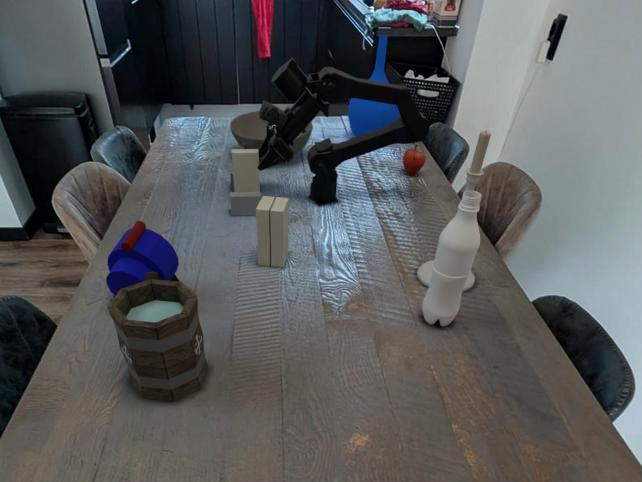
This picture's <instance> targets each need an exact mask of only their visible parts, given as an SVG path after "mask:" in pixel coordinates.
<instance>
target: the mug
mask: <svg viewBox="0 0 642 482" xmlns="http://www.w3.org/2000/svg"><path fill="white" fill-rule="evenodd" d="M198 302H199V298H198V295H197V294H195V293H194V291H193V290H191V288H189V287H188V286H187V285H186V284H184V282H183V281H180V282H178V281H167V280H159V276H158V273H157V272H148V273H146V275H145V281H143V282H140V283H137V284H134V285H131V286H128V287H125V288H122V289H120V290H119V292H118V293H117V295H116V296H115V297H114V296H113V299H112V300H111V301H110V303H109V304H108V306H107V311H108V313H109V315H110V317H111V319H112V321H113V324H114V328H115V330H116V334H117V339H118V344H119V348H120V351H121V353H122V355H123V358H124V360H125V363H126V366H127V369H128V373H129V380H130V383H131V384H132V385H133V387H134V388H135V389H136V391H137V392H138V393H139V394H140V396H141V397H142V398H143V399H147V400H156V401H166V402H176V401H178V400H180V399H183V398H184V397H187V396H189V395H191V394H194V393H195V392H197V391H199V390H201V389H202V387H203V385H204V383H205V379H206V377H207V375H208V372H209V370H210V369H209V366H208V363H207V359H206V354H205V353H206V352H205V345H204V343H205V342H204V333H203V330H202V325H201V321H200V316H199V303H198Z"/></svg>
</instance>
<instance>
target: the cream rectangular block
mask: <svg viewBox="0 0 642 482" xmlns="http://www.w3.org/2000/svg"><path fill="white" fill-rule="evenodd" d="M259 164H260V158H259V152H258V149H243V148H231V166H233V180H234V192H260V193H261V184H260V183H261V182H260V170H259V169H258V168H257V167H258V165H259Z"/></svg>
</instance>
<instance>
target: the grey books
mask: <svg viewBox="0 0 642 482" xmlns="http://www.w3.org/2000/svg"><path fill="white" fill-rule="evenodd" d="M229 168H230V169H229V170H230V173H229V176H230V189H231V191H229V199H230V200H229V203H230V212H231V213H230V214H231V216H232V217H233V216H256V208H257V206H258V204H259V202H260V200H261V198H262V194H261V191H260V192H234V180H233V166H232V165H230V167H229Z"/></svg>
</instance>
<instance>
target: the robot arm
mask: <svg viewBox="0 0 642 482" xmlns="http://www.w3.org/2000/svg"><path fill="white" fill-rule="evenodd" d="M271 83H272V85H274V87H275V88H276V89H277V90H278V91H279V92H280V94H282V96H283V97H284V98H285V100H287V102H289V101H292V102H294V103H293V104H292V106H291V107H289V106H287V107H286V108H285V109H284V110H283V109H281V108H280V107H278V106H276V105H274V104H273V103H271V102H268V101H267V100H265V99H264V100H262V103H261V106H260V108H259V110H258V111H259V118H260V119H262V120H264V121H265V120H266V121H267V123H268V125H269V126H268V125H266V133H267V134H266V137H265V139H264V141H263V143H262V145H261V147H260V148H259V150H258V152H259V159H260V157H262V156H264V155H265V156H264V158H263V159H261V161H259V165H258V167H257V168H258V169H259V172H261V171H264V170H267V169H270V168H272V167H276V166H277V165H280V164H286V163H290V162H291V160H292V159H293V158H294V157H295V155H294V151H293V147H292V146H293V145H294V140H295V139H296V138H297V137H298V136H299V135H300V134H301V132H302V133H303V134H304V133H305V132H306V129H305V128H306V127H307V126H308V125H309V124H310V123H312V122H313V121H314V119H316V117H317V116H318V115H319V114H320V113H322V114H323V115H324V116H325V117H326V118H328V117H330V116H329V114H330V113H329V109H330V105H331V104H330V101H345V100H348V99H351V98H356V99H362V100H368V101H374V102H380V103H386V104H392V105H396V106H397V108H398V111H399V113H400V117H399V118H398V119H397V120H395V121H394V122H393V123H392V124H391V125H389V126H386V127H383V128H381V129H378V130H375V131H372V132H369V133H366V134H364V135H361V136H358V137H355V136H354V137H353V138H349V139H346V140H344V141H341V142H332V141H331V137H328V138H327V137H326V138H325V139H323V140H321V141H315V142H314V145H312V146H310V147H309V148H308V151H307V154H306V160H307V164H308V167H309V170H310V172H311V173H312V174H313V176H312V177H311V182H310V190H309V191H310V192H309V193H310V194H308V198H309V199H310V200H311V201H313V203H315V204H316V205H318V206H325V205H330V204H334V203H338V202H339V198H337V186H338V177H339V174H338V171H337V169H336V168H337V167H339V166H340V165H342V164H343V163H344V162H346V161H350V160H352V159H354V158H357V157H360V156H363V155H366V154H369V153H372V152H374V151H378V150H380V149H384V148H387V147H390V146H392V145H409V144H410V145H411V144H413V143H415V144H417V143H421V142H423V141H424V140H426V138H427V136H428V135H429V133H430V129H431V124H430V121H429V119H427V117H425V115H424V114H423V113H422V112H420V110H419V108H418V107H417V105H416V103H415V101H414V99H413V96H412V93H411V91H410V89H408V88H407V86H406V85H405V84H393V83H389V84H388V83H383V82H377V81H371V80H369V79H365V78H359V77H355V76H353V75H350V74H349V73H346V72H344V71H342V70H340V69H337V68H335V67H332V66H325V67H323V68H322V69H321V70H319V72H313V73H307V74H305V73H304V71H302V69H301V68H300V66H299V65H298V63H297V62H296V60H295V59H294V57H291V58H290V59H289V60H288V61H286V62H285V63H284V64H283V65H282V66H280V67H279V68H278V69H277V70H276V72H275V73H274V75H273V77H272V79H271ZM320 96H321V97H322V98H323V99H324V100H326V101H324V100H323V99H322V98H321V97H320Z"/></svg>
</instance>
